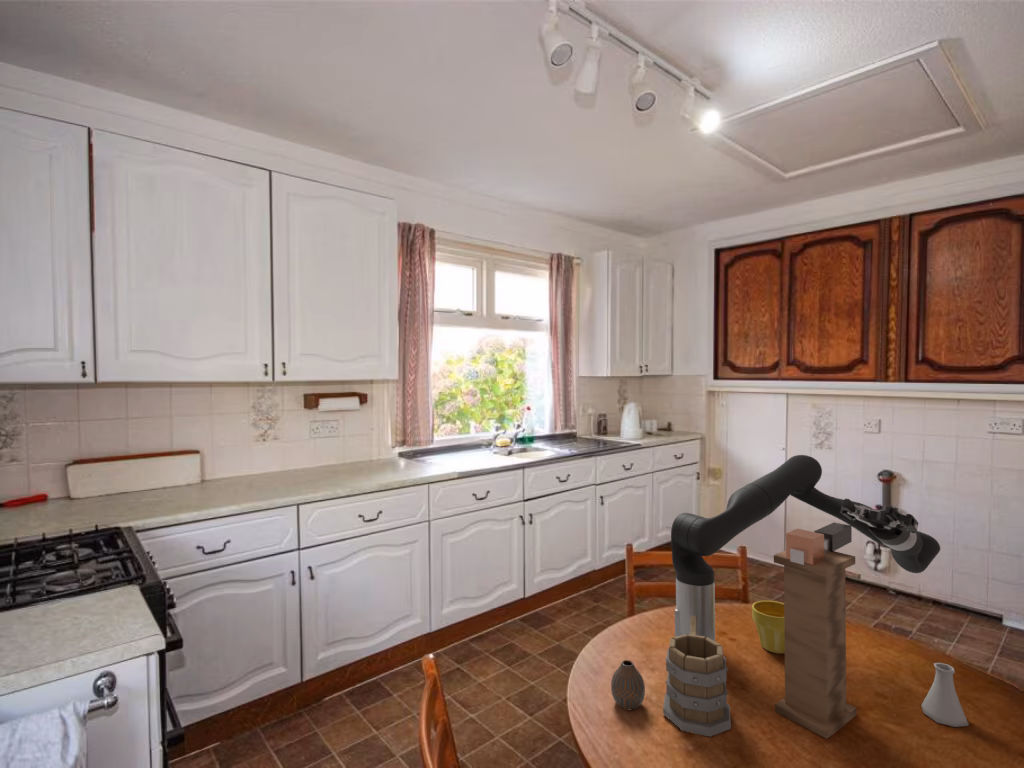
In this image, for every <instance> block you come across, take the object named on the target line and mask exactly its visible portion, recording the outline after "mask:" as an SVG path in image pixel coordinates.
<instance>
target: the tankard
mask: <svg viewBox="0 0 1024 768" xmlns="http://www.w3.org/2000/svg"><path fill="white" fill-rule="evenodd" d="M668 645H669V647H668V648H667V651H666V658H665V666H666V667H665V668H666V669H665V670H666V671H667V675H666V676H667V677H666V680H665V684H666V693H664V699H663V705H662V706H663V707H662V714H664V715H665V716H666V717H667V718H669V719H670V720H671V721H672V722H673V723H674V724H675V725H674V724H673V723H672V722H671V721H670V720H669V719H668V720H669V721H670V722H671V723H672V724H673V725H674V726H676V725H677V726H678V727H679V728H680V729H679V728H678V727H677V726H676V727H677V728H678V729H679V730H682V732H684V731H686V732H685V733H689V732H693V733H692V734H694V733H695V735H698V734H700V736H703V735H705V736H704V737H708V736H709V738H711V737H713V735H714V736H716V735H718V734H721V733H723V732H724V733H725V732H726V731H728V730H731V729H732V725H731V724H732V721H731V705H729V704H728V701H727V700H728V699H727V698H728V697H727V696H728V695H729V692H728V691H727V675H728V674H727V672H728V671H729V668H728V667H727V658H726V657H725V656H724V649H723V646H722V644H720V643H718V642H717V641H716V640H715V641H713V640H711V639H710V638H708V637H707V638H706V637H705V636H699V635H697V617H696V616H691V620H690V634H687V635H686V634H683V635H680V636H676V637H675V636H673V637H671V638H670V639H669V644H668ZM664 715H663V716H664ZM665 716H664V717H665ZM666 717H665V718H666ZM667 718H666V719H667Z"/></svg>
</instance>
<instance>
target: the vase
mask: <svg viewBox="0 0 1024 768" xmlns="http://www.w3.org/2000/svg"><path fill="white" fill-rule="evenodd" d="M610 684H611V685H610V686H611V687H610V688H611V689H610V690H611V695H612V698H613V700H614V702H615V703H616V705H618V706H619V707H620V708H621V707H622V708H621V709H623V708H625V709H624V710H626V709H634V710H637V708H640V706H641V705H642V703H643V701H644V698H645V693H646V686H645V682H644V679H643V676H642V674H641V673H640V671H639V670H638V669H637V667H636V665H635V664H634V662H633V661H631V660H628V659H624V660H622V661H621V663H620V665H619V667H618V668H617V669H615V671H614V673H613V675H612V677H611V682H610Z"/></svg>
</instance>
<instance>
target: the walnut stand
mask: <svg viewBox="0 0 1024 768" xmlns="http://www.w3.org/2000/svg"><path fill="white" fill-rule="evenodd" d="M773 563H774V564H778V565H781V566H783V590H784V591H783V592H784V593H783V596H784V597H783V599H784V601H783V603H784V627H785V653H784V695H785V696H784V698H782V699H781V700H779V701H778V702H777V703H775V704H774V712H775V713H777V714H779V715H780V716H781V717H784V718H786V719H788V720H790V721H792V722H794V723H796V724H798V725H799V726H802V727H803V728H805V729H806V730H809V731H810V732H813V733H815V734H816V735H818V736H820V737H822V738H824V739H826V740H828V739H829V738H830V737H832V736H833V735H834V734H836V733H837V732H838V731H839V730H840V729H842V727H844V726H845V725H847V723H849V722H850V721H851V720H852V719H854V718H855V717H856V716H857V707H855V706H854V705H851V704H850V703H847V648H846V647H847V644H846V643H847V639H846V637H847V636H846V635H847V633H846V631H847V630H846V629H847V628H846V627H847V625H846V621H847V620H846V619H847V618H846V615H847V613H846V612H847V611H846V608H847V607H846V606H847V605H846V602H847V601H846V569H848V568H850V567H852V566H854V565H856V556H854V555H851V554H847V553H843V552H840V551H836V550H835V551H833V552H831V551H829V552H828V553H826V554H824V560H822V561H820V562H818V563H817V564H815V565H810V564H805V565H803V564H799V563H795V562H791V561H790V559H786V550H783V551H782V552H778V553H775V554H773Z"/></svg>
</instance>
